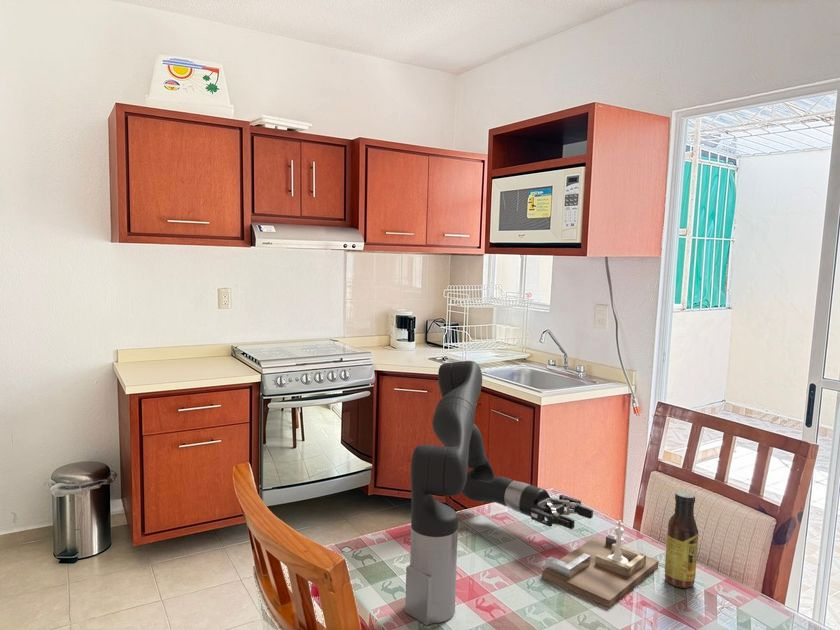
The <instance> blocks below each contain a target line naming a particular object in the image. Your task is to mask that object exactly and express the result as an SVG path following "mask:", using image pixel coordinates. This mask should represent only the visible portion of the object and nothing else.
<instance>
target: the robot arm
mask: <svg viewBox="0 0 840 630" xmlns="http://www.w3.org/2000/svg"><path fill="white" fill-rule="evenodd" d="M437 375H438V376H437V380H438V381H437V382H438V386H439V387H438V388H439V390H440V394H441V397H442V398H441V399H440V400H439V401H438V403H437V405H436V406H435V410H434V413H433V416H432V429H433V432H434V434H435V436H436V438H437V439H438V440H439V441H440V442H441V444H442V445H431V444H430V445H429V444H428V445H427V444H420V445H417V446H416V447H415V448H414V450H413V451H412V456H411V459H410V461H411V462H410V490H411V498H410V499H411V502H410V503H411V504H410V505H411V506H410V507H411V508H410V510H411V511H410V514H411V517H410V519H411V520H410V549H409V551H410V553H409V554H410V555H409V564H408V565H407V566H406V568H405V599H404V601H405V605H404V607H405V608H404V609H405V610H404V611H405V613H406V614H407V615H408V616H411V617H412V618H413V619H415V620H417V621H419V622H421V623H422V624H424V625H425V626H429V625H431V624H438V623H444V622H446V621H448V620H450V619H451V618H453V616H454V615H455V613H456V593H457V592H456V591H457V589H456V588H457V559H458V558H457V557H458V534H459V533H458V532H459V531H458V529H459V517H458V513H457V511H455V510H456V509H454V508H453V507H451V506H449V505H448V504H445V503H443V502H441V501H439V500H438V499H436V498H435V497H434V496H433V495H436V496H437V495H438V496H445V497H448V496H449V497H452V496H454V497H455V496H459V495H460V494H462V495H463V496H464V497H465V498H467V499H468V500H471V501H474V502H482V503H483V502H484V503H497V504H498V505H501V506H503V507H504V506H505V507H507V508H509V509H511V510H513V512H514V511H515V512H517V513H520V514H522V515H525V516H527V517H530V519H531V520H532V521H535V522H538V523H540V524H542V525H544V526H546V527H553V525H554V526H562V527H564V528H567V529H569V530H573V529H574V528H575V519H573V518H570V517H568V516H569V515H570V514H572V515H574V514H575V515H578V516H580V517H583V518H587V519H589V520H591V519H592V518H593V516H594V515H593V514H594V510H593V509H592V508H589V507H586V506H583V505H582V501H581V500H580V499H577V498H573V497H570V496H567V495H563V494H559V496H558V498H557V497H556V498H555V497H550V494H549V493H548V490H546V489H543V488H541V487H537V486H535V485H532V484H530V483H527V482H522V481H517V480H514V479H511V478H508V477H506V476H501V475H499V476H496V474H495V471H494V469H493V467H492V464H491V463H490V460H489V459H488V457H487V455H486V452H485V445H484V441H483V435H482V434H481V431H480V429H479V427H478V426H477V425H476V424H475V420H476V419H475V418H476V408H477V402H478V400H479V397H480V394H481V392H482V391H481V390H482V386H483V373H482V369H481V367H480V365H479V364H478V363H477V362H476V361H472V360H461V361H454V362H447V363H442V364H441V365H440V366H439V368H438V373H437ZM468 469H470V470H469V471H468ZM546 519H547V520H546Z"/></svg>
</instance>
